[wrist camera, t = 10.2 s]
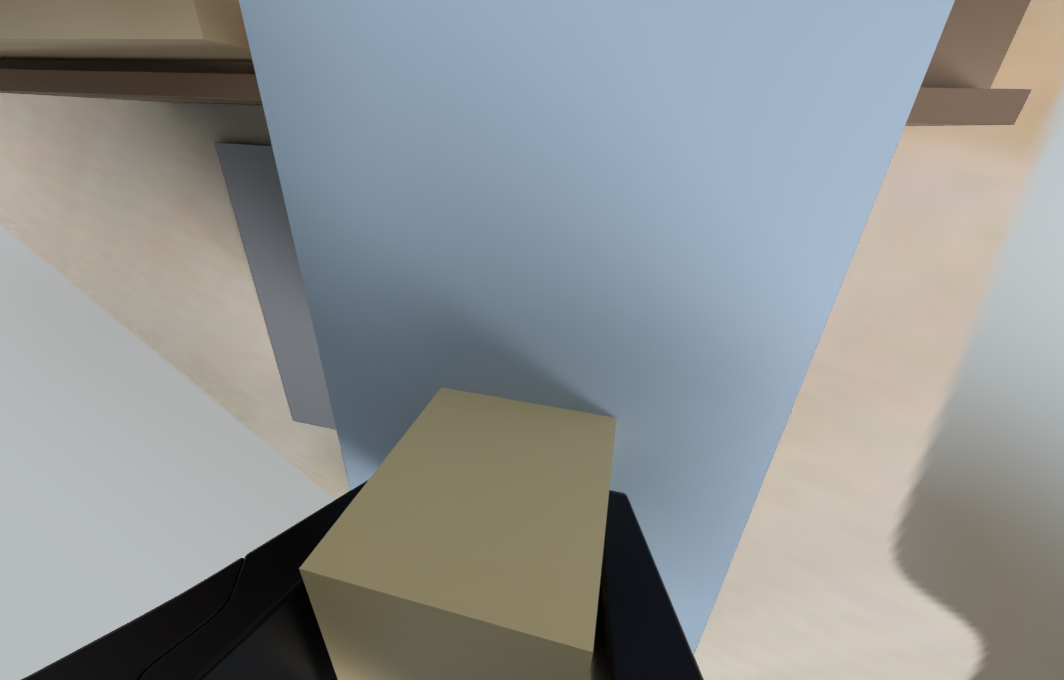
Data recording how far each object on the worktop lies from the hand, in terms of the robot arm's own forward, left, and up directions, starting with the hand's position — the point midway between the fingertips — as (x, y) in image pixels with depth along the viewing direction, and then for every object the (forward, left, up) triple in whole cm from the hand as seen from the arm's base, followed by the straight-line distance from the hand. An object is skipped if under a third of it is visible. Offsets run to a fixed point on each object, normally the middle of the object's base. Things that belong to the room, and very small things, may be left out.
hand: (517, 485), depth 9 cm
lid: (+2, 0, -1) cm, 2 cm away
